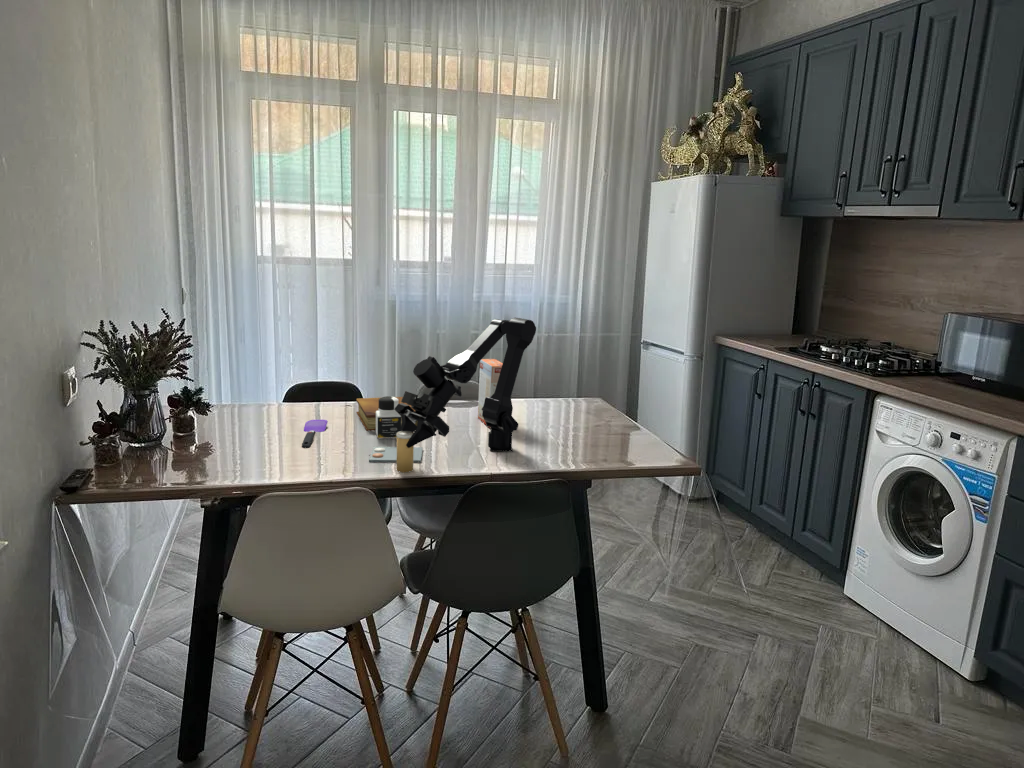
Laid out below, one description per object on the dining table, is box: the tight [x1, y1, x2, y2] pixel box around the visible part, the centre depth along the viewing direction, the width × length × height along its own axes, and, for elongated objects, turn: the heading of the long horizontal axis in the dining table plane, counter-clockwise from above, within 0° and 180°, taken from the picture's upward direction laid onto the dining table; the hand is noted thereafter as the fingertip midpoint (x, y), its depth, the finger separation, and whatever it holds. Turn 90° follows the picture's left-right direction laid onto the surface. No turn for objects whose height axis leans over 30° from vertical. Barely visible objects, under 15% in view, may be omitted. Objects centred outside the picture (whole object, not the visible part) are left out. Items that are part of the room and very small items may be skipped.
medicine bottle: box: [375, 396, 401, 440], centre depth 215 cm, size 7×7×12 cm
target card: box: [368, 446, 423, 464], centre depth 197 cm, size 14×12×1 cm
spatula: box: [301, 419, 329, 449], centre depth 212 cm, size 24×7×2 cm, turn 7°
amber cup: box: [396, 431, 415, 473], centre depth 185 cm, size 5×5×10 cm
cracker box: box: [477, 358, 503, 429], centre depth 234 cm, size 14×6×21 cm, turn 18°
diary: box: [356, 396, 420, 432], centre depth 233 cm, size 23×19×6 cm
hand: (402, 444), depth 184 cm, fingers closed on amber cup, 4 cm apart
